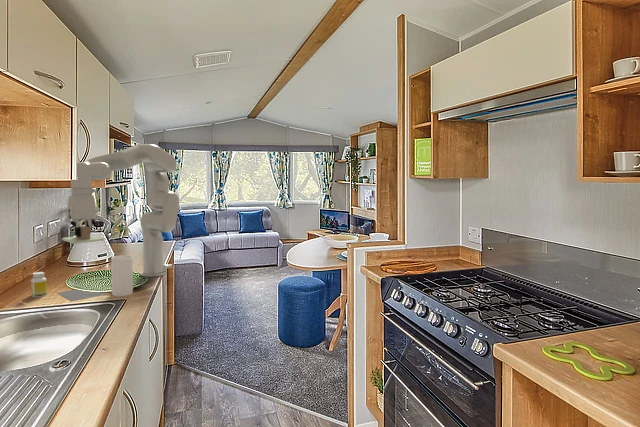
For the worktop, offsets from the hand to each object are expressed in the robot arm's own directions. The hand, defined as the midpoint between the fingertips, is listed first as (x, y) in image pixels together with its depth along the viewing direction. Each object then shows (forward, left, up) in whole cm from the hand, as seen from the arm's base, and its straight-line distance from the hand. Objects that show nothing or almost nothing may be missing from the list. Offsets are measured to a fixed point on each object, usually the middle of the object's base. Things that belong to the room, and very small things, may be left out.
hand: (83, 235), depth 184 cm
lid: (0, 0, -2) cm, 2 cm away
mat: (0, 0, -25) cm, 25 cm away
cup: (-11, +11, -25) cm, 30 cm away
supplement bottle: (+14, -9, -25) cm, 30 cm away
